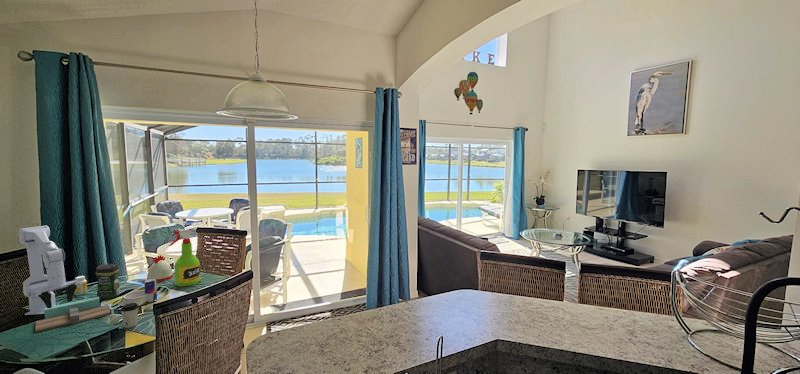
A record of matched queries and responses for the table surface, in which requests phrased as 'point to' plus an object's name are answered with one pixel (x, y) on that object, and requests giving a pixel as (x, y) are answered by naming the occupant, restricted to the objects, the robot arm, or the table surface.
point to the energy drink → (150, 290)
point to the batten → (64, 308)
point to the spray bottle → (186, 261)
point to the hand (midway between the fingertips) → (59, 304)
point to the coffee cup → (130, 314)
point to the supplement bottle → (81, 285)
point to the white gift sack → (160, 270)
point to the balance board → (67, 318)
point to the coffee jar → (107, 281)
